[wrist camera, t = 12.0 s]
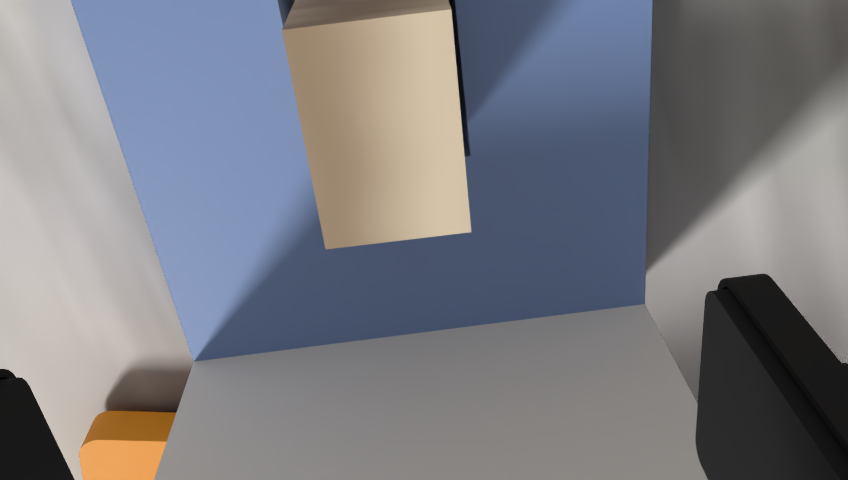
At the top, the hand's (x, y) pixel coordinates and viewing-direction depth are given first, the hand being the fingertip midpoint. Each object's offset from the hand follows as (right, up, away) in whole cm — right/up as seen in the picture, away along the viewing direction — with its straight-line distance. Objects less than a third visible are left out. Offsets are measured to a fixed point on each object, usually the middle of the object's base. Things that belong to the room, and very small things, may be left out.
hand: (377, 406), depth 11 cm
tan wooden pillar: (-1, +10, +18) cm, 20 cm away
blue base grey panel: (-1, +7, +19) cm, 20 cm away
